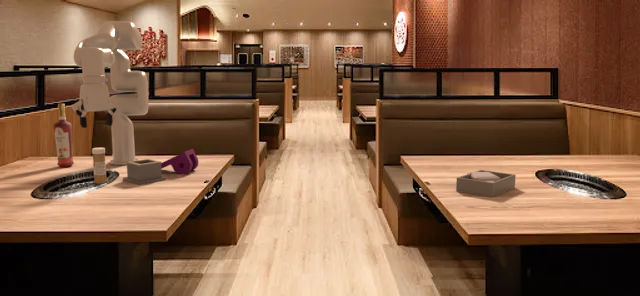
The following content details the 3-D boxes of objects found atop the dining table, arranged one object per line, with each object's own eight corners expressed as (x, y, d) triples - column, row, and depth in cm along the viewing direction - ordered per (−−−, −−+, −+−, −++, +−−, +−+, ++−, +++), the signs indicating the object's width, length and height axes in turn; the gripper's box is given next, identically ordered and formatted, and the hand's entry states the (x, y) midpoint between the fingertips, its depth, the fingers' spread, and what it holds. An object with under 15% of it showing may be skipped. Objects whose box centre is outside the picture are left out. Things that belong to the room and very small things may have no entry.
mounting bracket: (157, 187, 217) (193, 170, 214) (148, 169, 216) (184, 151, 213) (166, 182, 226) (201, 165, 223) (157, 165, 226) (192, 148, 222)
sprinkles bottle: (95, 181, 200) (93, 147, 198) (108, 181, 201) (106, 147, 199) (92, 184, 196) (90, 149, 194) (105, 183, 197) (103, 148, 195)
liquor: (78, 165, 234) (73, 103, 230) (68, 168, 227) (64, 104, 223) (63, 164, 235) (58, 103, 231) (53, 167, 228) (48, 104, 224)
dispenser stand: (456, 191, 186) (456, 177, 185) (479, 182, 200) (480, 169, 199) (492, 197, 177) (493, 183, 176) (514, 187, 191) (515, 174, 190)
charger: (481, 193, 180) (466, 184, 195) (507, 193, 181) (490, 183, 196) (481, 180, 180) (467, 172, 195) (507, 179, 180) (491, 171, 195)
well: (122, 180, 203) (121, 161, 202) (150, 175, 212) (149, 158, 211) (138, 184, 195) (137, 165, 194) (166, 179, 204) (165, 161, 203)
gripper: (111, 80, 201) (114, 124, 204) (66, 81, 189) (69, 127, 191) (121, 80, 196) (123, 125, 199) (74, 81, 184) (78, 129, 186)
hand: (96, 126), depth 195 cm, fingers open, 9 cm apart
